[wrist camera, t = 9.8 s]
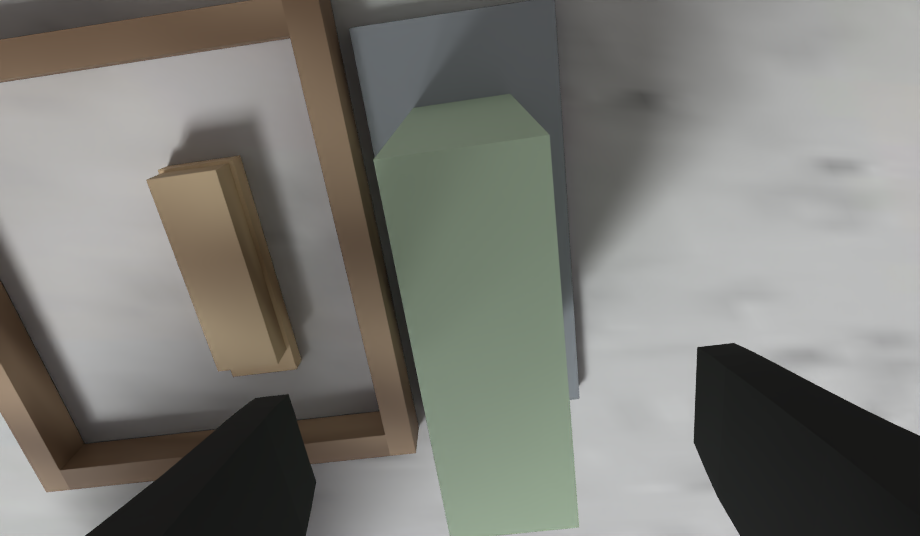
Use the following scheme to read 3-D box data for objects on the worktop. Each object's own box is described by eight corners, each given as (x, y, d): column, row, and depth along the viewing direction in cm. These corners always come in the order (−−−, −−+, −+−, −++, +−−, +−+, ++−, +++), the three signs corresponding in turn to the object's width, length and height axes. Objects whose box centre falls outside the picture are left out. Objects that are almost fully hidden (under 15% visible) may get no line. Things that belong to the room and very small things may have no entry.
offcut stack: (303, 355, 21) (289, 384, 19) (243, 362, 21) (222, 392, 19) (244, 153, 18) (218, 165, 16) (173, 163, 18) (140, 177, 16)
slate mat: (576, 389, 21) (579, 398, 21) (426, 406, 22) (426, 415, 21) (551, -2, 16) (554, -4, 15) (352, 28, 16) (348, 27, 16)
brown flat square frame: (418, 427, 22) (415, 452, 21) (71, 465, 23) (46, 492, 21) (329, -6, 16) (316, -11, 14) (-141, 68, 17) (-196, 70, 15)
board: (535, 346, 20) (578, 527, 12) (455, 356, 20) (451, 539, 13) (510, 93, 16) (549, 134, 9) (413, 108, 16) (373, 159, 9)
